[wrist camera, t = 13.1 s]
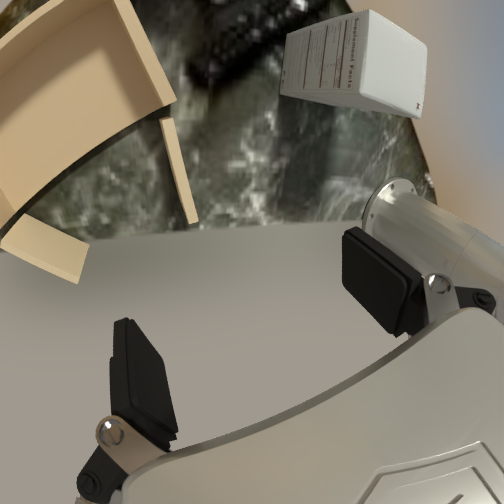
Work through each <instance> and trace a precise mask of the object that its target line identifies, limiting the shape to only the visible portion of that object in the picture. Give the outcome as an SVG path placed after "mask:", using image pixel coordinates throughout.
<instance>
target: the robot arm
mask: <svg viewBox="0 0 504 504" xmlns="http://www.w3.org/2000/svg"><path fill="white" fill-rule="evenodd" d="M421 276H423V277H425V279H424V278H422V277H421ZM342 283H343V286H344V287H345V289H346V290H347V291H348V292H350V294H351V295H352V296H353V297H354V298H355V299H356V300H357V301H358V302H359V303H360V304H361V305H362V306H363V307H364V308H365V309H366V310H367V311H368V312H369V313H370V314H371V315H372V316H373V317H374V319H376V321H377V322H378V323H379V324H380V325H381V326H382V327H383V328H384V329H385V330H386V331H387V332H388V333H389V334H393V335H394V336H395V337H396V338H397V337H398V336H400V335H401V334H403V333H404V332H407V334H408V340H407V341H406V342H404V343H403V344H401V345H400V346H398V347H397V348H396V349H394V350H393V351H392V352H390V353H388V354H387V355H385V356H384V357H382V358H381V359H379V360H378V361H376V362H374V363H373V364H371V365H370V366H368V367H366V368H365V369H363V370H362V371H360V372H358V373H357V374H355V375H353V376H352V377H350V378H348V379H346V380H345V381H343V382H341V383H339V384H338V385H336V386H334V387H332V388H330V389H329V390H327V391H325V392H323V393H321V394H319V395H317V396H315V397H313V398H311V399H309V400H307V401H305V402H303V403H301V404H299V405H297V406H295V407H293V408H291V409H288V410H286V411H284V412H282V413H279V414H277V415H275V416H272V417H270V418H268V419H266V420H263V421H260V422H258V423H255V424H253V425H250V426H248V427H245V428H242V429H240V430H237V431H234V432H231V433H229V434H226V435H223V436H220V437H217V438H214V439H211V440H208V441H205V442H202V443H198V444H195V445H192V446H189V447H186V448H182V449H179V450H176V451H172V450H171V449H169V448H170V443H169V441H173V440H177V438H176V434H175V433H177V432H178V426H177V422H176V418H175V414H174V409H173V405H172V401H171V396H170V391H169V386H168V381H167V376H166V371H165V366H164V362H163V359H162V357H161V356H160V355H159V353H158V352H157V351H156V350H155V348H154V347H153V346H152V344H151V343H150V341H149V340H148V339H147V338H146V336H145V335H144V333H143V332H142V331H141V329H140V328H139V327H138V325H137V324H136V322H135V321H134V320H133V319H131V320H129V318H123V319H121V320H118V321H115V322H114V336H113V338H114V339H113V357H111V358H110V399H111V414H112V416H107V417H105V418H103V419H102V420H101V421H100V422H99V424H98V426H97V429H96V439H97V442H98V444H99V446H98V447H97V448H96V450H95V452H94V453H93V454H92V456H91V457H90V459H89V460H88V462H87V463H86V464H85V466H84V467H83V469H82V470H81V472H80V473H79V475H78V477H77V489H78V491H79V493H80V498H79V497H77V498H76V501H75V504H504V246H502V245H501V244H499V243H498V242H496V241H494V240H493V239H491V238H490V237H488V236H487V235H485V234H484V233H482V232H481V231H479V230H478V229H476V228H474V227H473V226H471V225H469V224H468V223H466V222H464V221H463V220H461V219H459V218H458V217H456V216H454V215H453V214H451V213H449V212H447V211H445V210H444V209H442V208H440V207H438V206H436V205H435V204H433V203H431V202H429V201H427V200H425V199H423V198H421V197H419V196H417V192H416V189H415V187H414V185H413V184H412V183H411V182H410V181H408V180H406V179H404V178H401V177H395V178H391V179H389V180H387V181H385V182H384V183H383V184H382V185H381V186H380V187H379V188H378V189H377V190H376V191H375V192H374V194H373V195H372V197H371V199H370V200H369V202H368V204H367V207H366V209H365V212H364V216H363V221H362V229H360V228H359V227H353V228H351V229H348V230H346V231H345V232H344V235H343V236H342Z"/></svg>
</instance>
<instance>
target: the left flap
mask: <svg viewBox="0 0 504 504" xmlns="http://www.w3.org/2000/svg"><path fill="white" fill-rule="evenodd" d="M0 248H2V249H4V250H5V251H7V252H9V253H11V254H13V255H15V256H17V257H19V258H21V259H23V260H25V261H27V262H29V263H31V264H33V265H35V266H37V267H39V268H41V269H43V270H46V271H48V272H50V273H52V274H54V275H57V276H59V277H61V278H63V279H65V280H68V281H70V282H72V283H75V284H78V282H79V279H80V275H81V272H82V268H83V265H84V262H85V258H86V255H87V252H88V249H89V244H86V243H84V242H82V241H80V240H78V239H76V238H73V237H71V236H69V235H67V234H65V233H63V232H61V231H59V230H57V229H55V228H53V227H51V226H49V225H47V224H45V223H43V222H41V221H39V220H37V219H35V218H33V217H31V216H29V215H27V214H25V213H24V214H23V216H22V217H21V218H20V219H19V220H18V221H17V222H16V223H15V224H14V226H13V227H12V228H11V229H10V230H9V232H8V233H7V234H6V235H5V236H4V238H3V239H2V240H1V246H0Z"/></svg>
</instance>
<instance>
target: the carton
mask: <svg viewBox="0 0 504 504" xmlns="http://www.w3.org/2000/svg"><path fill="white" fill-rule="evenodd" d="M176 100H177V99H176V97H175V94H174V92H173V90H172V88H171V86H170V84H169V82H168V80H167V78H166V76H165V74H164V71H163V69H162V67H161V65H160V63H159V61H158V59H157V57H156V55H155V53H154V51H153V48H152V46H151V44H150V42H149V40H148V38H147V36H146V34H145V32H144V30H143V27H142V25H141V23H140V21H139V19H138V17H137V15H136V13H135V11H134V9H133V6H132V4H131V2H130V0H50V1H49V2H47V3H46V4H44V5H43V6H41V7H40V8H39V9H37V10H36V11H34V12H33V13H32V14H30V15H29V16H28V17H26V18H25V19H24V20H23V21H21V22H20V23H19V24H18V25H16V26H15V27H14V28H13V29H12V30H10V31H9V32H8V33H7V34H6V35H5V36H4V37H3V38H1V39H0V229H1V228H2V227H3V225H4V224H5V223H6V222H7V221H8V220H9V219H10V218H11V217H12V216H13V215H14V214H15V213H16V212H17V211H18V210H19V209H20V208H21V207H22V206H23V205H24V204H25V203H26V202H27V201H28V200H29V199H30V198H31V197H33V196H34V195H35V194H36V193H37V192H38V191H39V190H40V189H41V188H43V187H44V186H45V185H46V184H47V183H48V182H50V181H51V180H52V179H53V178H54V177H56V176H57V175H58V174H59V173H61V172H62V171H63V170H64V169H66V168H67V167H68V166H70V165H71V164H72V163H74V162H75V161H76V160H78V159H79V158H80V157H82V156H83V155H84V154H86V153H87V152H89V151H90V150H91V149H93V148H94V147H96V146H97V145H99V144H100V143H102V142H103V141H105V140H106V139H108V138H109V137H111V136H112V135H114V134H116V133H117V132H119V131H120V130H122V129H124V128H125V127H127V126H129V125H130V124H132V123H134V122H136V121H137V120H139V119H141V118H143V117H144V116H146V115H148V114H150V113H152V112H154V111H155V110H157V109H159V108H161V107H164V106H166V105H168V104H170V103H172V102H174V101H176Z"/></svg>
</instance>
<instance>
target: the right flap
mask: <svg viewBox="0 0 504 504" xmlns="http://www.w3.org/2000/svg"><path fill="white" fill-rule="evenodd" d="M159 121H160V125H161V129H162V134H163V138H164V142H165V146H166V150H167V154H168V158H169V162H170V165H171V169H172V173H173V177H174V180H175V184H176V188H177V191H178V195H179V198H180V201H181V204H182V207H183V209H184V212H185V215H186V217H187V220H188V223H189V224H191V223H195V222H198V217H197V213H196V210H195V206H194V202H193V198H192V194H191V191H190V187H189V183H188V179H187V175H186V171H185V167H184V163H183V159H182V155H181V151H180V147H179V142H178V138H177V134H176V129H175V125H174V121H173V118H171V117H164V118H161V119H159Z"/></svg>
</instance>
